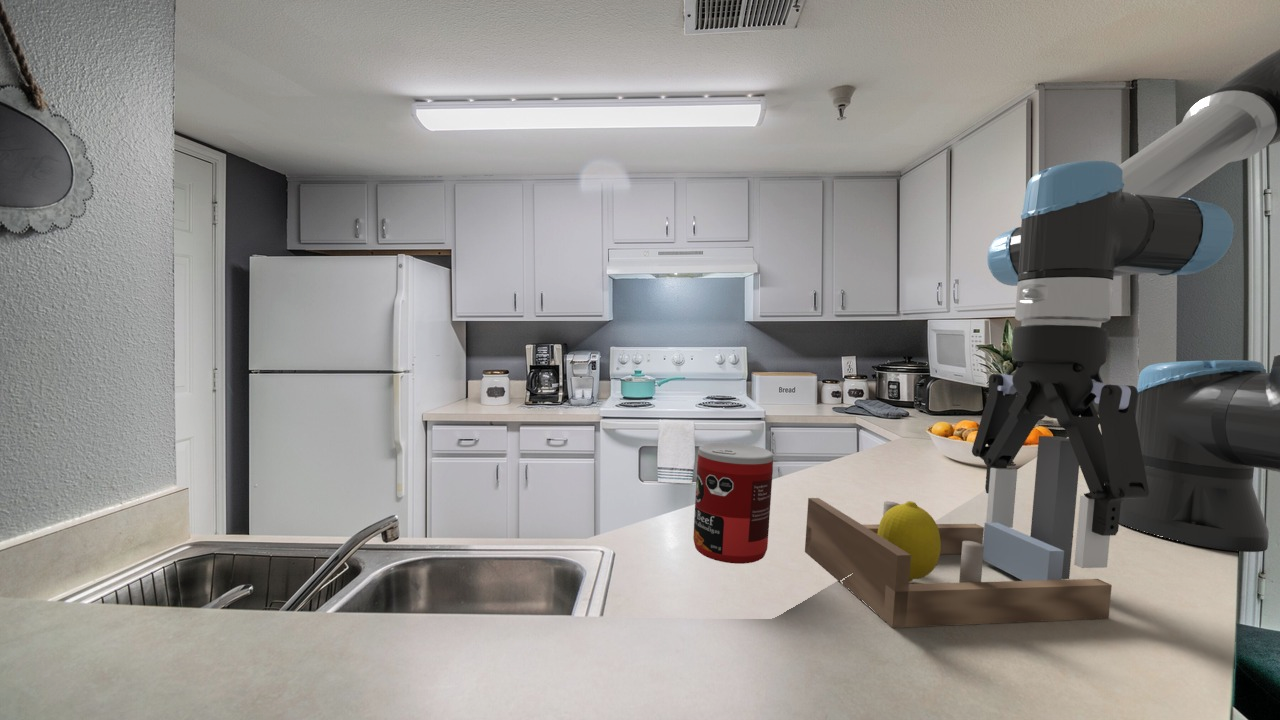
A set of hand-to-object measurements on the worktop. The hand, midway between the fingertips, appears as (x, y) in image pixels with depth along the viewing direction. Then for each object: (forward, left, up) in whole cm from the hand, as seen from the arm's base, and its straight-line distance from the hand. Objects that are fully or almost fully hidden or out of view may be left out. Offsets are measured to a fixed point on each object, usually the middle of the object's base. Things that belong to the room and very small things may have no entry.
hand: (1040, 544), depth 54 cm
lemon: (+15, 0, -4) cm, 16 cm away
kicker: (0, 0, -3) cm, 3 cm away
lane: (+11, 0, -4) cm, 12 cm away
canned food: (+30, -8, -4) cm, 31 cm away
